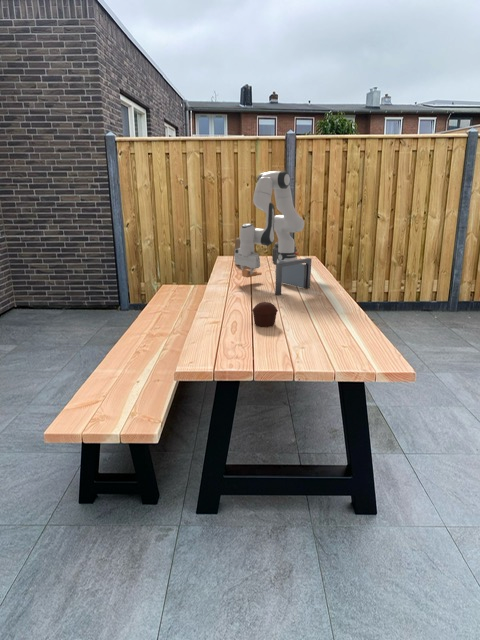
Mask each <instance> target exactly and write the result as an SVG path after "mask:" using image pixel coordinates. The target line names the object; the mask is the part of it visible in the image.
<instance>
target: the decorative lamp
mask: <svg viewBox="0 0 480 640" xmlns="http://www.w3.org/2000/svg"><path fill="white" fill-rule="evenodd" d="M291 233H292V232H289V234H290V235H291ZM294 252H298V250H297V247H296V245H295V246H294ZM277 254H278V241H276V242H275V243H274V246H273V247H272V255H271V257H272V259H271V260H272V263H273V264H274V265H276V263H277V259H278V257H277V256H278V255H277ZM296 258H297V259H298V255H296Z"/></svg>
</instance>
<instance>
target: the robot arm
mask: <svg viewBox="0 0 480 640" xmlns="http://www.w3.org/2000/svg"><path fill="white" fill-rule="evenodd" d="M256 180H257V181H256V185H255V189H254V193H253V197H252V198H253V199H252V202H253V204H254V206H255V207H256V208H257V209H258V210H260V211H262V212H264V214H265V227H264V228H258V227H254V224H253V223H244V224H242V225H241V226H240V230H239V238H240V248H238V249H234V255H233V256H234V257H233V259H234V264H237V265H241V266H240V268H241V271H242V270H244V269H245V267H246V268H249V270H250V271H249V274H253V271H255V270H254V269H259V268H260V267H261V259H260V254H259V253H258V252H255V245H260V246H261V245H262V246H265V247H268V246H270V245H272V243H274V241H275V233H276V237H277V242H278V254H277V255H278V256H277V257H278V259H277V263H279V260H284V261H293V260H299V259H298V257H297V258H296V255H297V256H299V252H298V251H297V252H294V246H295V247H296V243H295V239H294V238H293V237H292V236H291V233H299V232H302V231H303V230H304V227H305V220H304V218H303V217H301V216H300V214H299V213H298V211H297V210H296V209H295V205H294V201H293V196H292V190H291V185H290V184H291V176H290V174H289V173H288V172H287V171H285V170H272V171H267V172H266V171H264V172H261V173H259V175H258V176H257V179H256ZM273 190H274V198H275V199H274V200H275V205H274V204H273V203H272V196H273ZM275 206H276V209H277V210H278V212H280V213H281V214H278V215H277V214H276V215H275V211H276V210H275ZM289 232H291V233H290V234H289ZM274 271H275V273H276V268H275V270H274Z"/></svg>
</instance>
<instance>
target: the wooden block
mask: <svg viewBox="0 0 480 640" xmlns="http://www.w3.org/2000/svg"><path fill="white" fill-rule="evenodd" d="M234 241H235V243H234V244H235V247H234V248H235V249H238V248H240V237H237V238H235V240H234ZM235 249H234V250H235ZM234 264H235V263H234ZM235 266H236V267H238V266H239V267H241V265H237V264H235Z"/></svg>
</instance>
